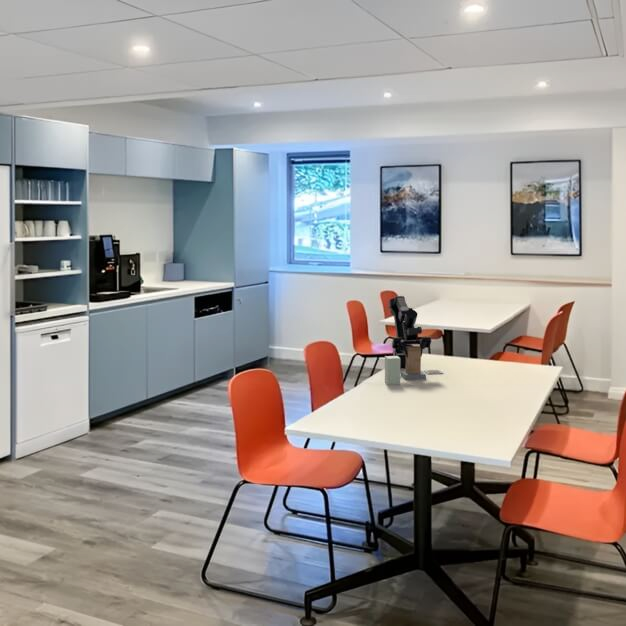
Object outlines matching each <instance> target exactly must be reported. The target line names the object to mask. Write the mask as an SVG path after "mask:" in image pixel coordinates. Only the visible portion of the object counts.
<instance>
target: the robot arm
mask: <svg viewBox="0 0 626 626" xmlns="http://www.w3.org/2000/svg"><path fill="white" fill-rule="evenodd" d="M387 305H388V309H389V313H390V314H391V315H392V316H393V319H394V326H395V332H396V337H393V338H392V341H391V347H392V349H393V350H392V356H398V357H399V358H400V369H406V357H408V355H407V351H406V346H416V345H418V346H419V347H420V348H421V358H422V356H423V352H424V351H423V350H425V349H426V348H427V349H429V348H431V343H432V337H431V336H422V338H421V339H418V338H419V334H420V335H421V334H422V333H423V330H422V326H417V327H415V324H416V322H417V318H418V312H417V311H416V310H415V309H413V307H409V306H408V304H407V302H406V297H405V296H403V295H396V296H394V297H393V298H390V299H389V301H388V303H387Z"/></svg>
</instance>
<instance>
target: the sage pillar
mask: <svg viewBox="0 0 626 626" xmlns="http://www.w3.org/2000/svg"><path fill="white" fill-rule="evenodd" d="M384 383H385V384H386V385H387V386H395V385H396V386H399V384H400V385H401V368H400V358H399V357H398V356H394V355H388V356H387V355H384Z"/></svg>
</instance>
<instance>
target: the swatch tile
mask: <svg viewBox="0 0 626 626" xmlns="http://www.w3.org/2000/svg"><path fill="white" fill-rule="evenodd" d="M423 372H424V373H425V374H426V375H444V372H443V371H441V370H440V369H427V370H426V369H425V370H424V369H423Z"/></svg>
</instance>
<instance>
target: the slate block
mask: <svg viewBox="0 0 626 626" xmlns="http://www.w3.org/2000/svg"><path fill="white" fill-rule="evenodd" d="M400 377H402V378H403V380H405V381H416V380H417V381H419V380H420V381H421V380H427V373H425V372H424V371H422V370H421V374H408V373H407V372H406V370H400Z"/></svg>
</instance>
